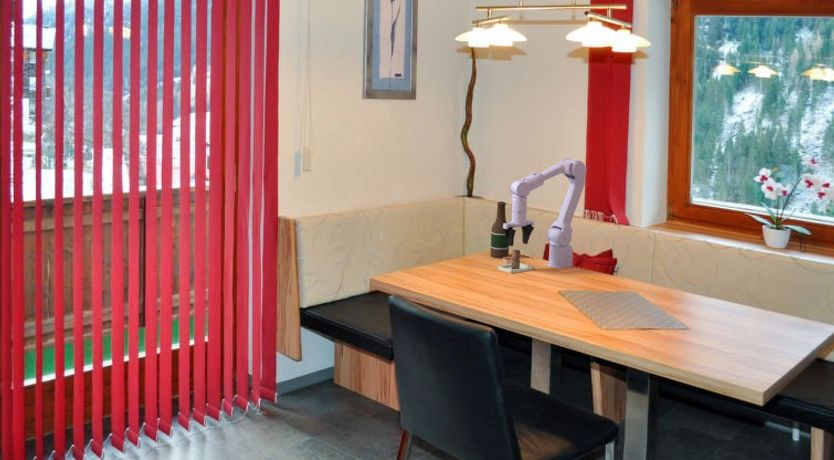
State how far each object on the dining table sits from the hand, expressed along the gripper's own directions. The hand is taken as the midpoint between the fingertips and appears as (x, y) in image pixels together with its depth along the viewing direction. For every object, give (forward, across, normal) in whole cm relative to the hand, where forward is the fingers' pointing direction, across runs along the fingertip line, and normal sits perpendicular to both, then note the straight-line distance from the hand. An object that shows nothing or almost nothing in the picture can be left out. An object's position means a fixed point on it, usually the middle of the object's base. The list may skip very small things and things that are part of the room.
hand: (517, 244), depth 353 cm
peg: (+10, +1, 0) cm, 10 cm away
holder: (+10, -4, -8) cm, 14 cm away
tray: (+10, +1, 0) cm, 10 cm away
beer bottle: (+11, -8, -20) cm, 24 cm away
